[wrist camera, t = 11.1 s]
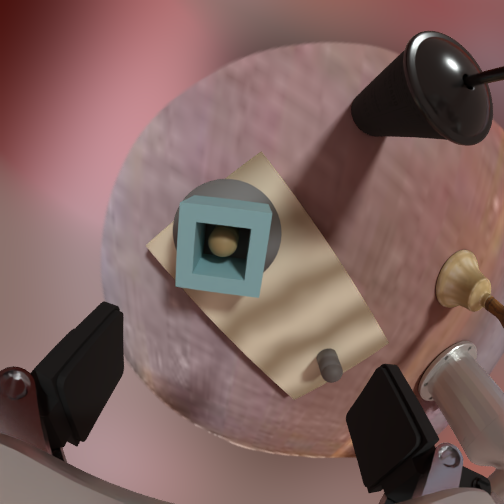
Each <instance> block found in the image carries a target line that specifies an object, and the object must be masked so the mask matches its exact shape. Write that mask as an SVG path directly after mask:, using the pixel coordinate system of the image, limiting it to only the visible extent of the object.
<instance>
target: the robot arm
mask: <svg viewBox="0 0 504 504" xmlns="http://www.w3.org/2000/svg"><path fill="white" fill-rule="evenodd" d="M476 357H477V349H476V347H475V346H474V344H473V343H471V342H469V341H462V342H459V343H456V344H454V345H452V346H451V347H449V348H448V349H446V350H445V351H444V352H442V353H441V354H440V355H439V356H438V357H437V358H436V359H435V360H434V361H433V362H432V363H431V364H430V366H429V367H428V368H427V370H426V371H425V373H424V374H423V376H422V378H421V380H420V383H419V388H418V391H419V394H420V396H421V397H422V399H424V400H426V401H435V402H436V404H437V406H438V407H439V409H440V410H441V412H442V414H443V415H444V417H445V419H446V420H447V422H448V424H449V425H450V427H451V429H452V430H453V432H454V434H455V435H456V437H457V439H458V441H459V442H460V444H461V446H462V448H463V450H464V451H465V453H466V455H467V457H468V458H469V460H470V461H471V462H472V463H474V464H476V465H480V466H493V467H495V468H496V470H495V471H494V472H493V473H492V474H491V475H490V476H489V477H488V478H486V477H484V476H482V475H480V474H478V473H476V472H474V471H472V470H470V469H468V468H466V467H464V466H463V456H462V454H461V452H460V450H459V449H458V448H457V447H456V446H454V445H452V444H450V443H441V444H439V445H438V446H437V447H436V448H435V446H434V445H435V444H436V443H437V442H438V441H439V438H438V436H437V434H436V432H435V430H434V428H433V426H432V425H431V423H430V421H429V419H428V417H427V415H426V414H425V412H424V410H423V408H422V407H421V405H420V403H419V401H418V400H417V398H416V396H415V394H414V393H413V391H412V389H411V387H410V386H409V384H408V382H407V381H406V379H405V377H404V376H403V374H402V372H401V371H400V369H399V367H398V366H397V365H391V364H382V365H381V366H380V367H378V368H377V369H376V370H375V372H374V374H373V375H372V377H371V378H370V380H369V382H368V383H367V385H366V386H365V388H364V389H363V391H362V392H361V394H360V395H359V397H358V398H357V400H356V401H355V403H354V404H353V406H352V407H351V408H350V410H349V411H348V413H347V415H346V422H347V425H348V429H349V432H350V436H351V439H352V443H353V446H354V450H355V454H356V457H357V460H358V464H359V468H360V472H361V476H362V479H363V483H364V485H365V487H367V489H368V492H369V493H372V492H378V491H381V490H382V489H384V492H385V493H384V494H383V496H382V498H381V500H380V502H379V504H504V393H503V391H502V390H501V389H500V388H499V387H498V385H497V384H496V383H495V382H494V381H493V379H492V378H491V377H490V376H489V375H488V374H487V372H486V371H485V370H484V369H483V368H482V367H481V366H480V365H479V363H478V362H477V361H476ZM123 371H124V357H123V313H122V312H120V309H119V307H118V306H116V305H113V304H110V303H107V302H102V303H101V304H100V305H99V306H98V307H97V308H96V309H95V310H93V311H92V313H90V314H89V315H88V316H87V317H86V318H85V319H84V320H83V321H82V322H81V323H80V324H79V325H78V326H77V327H76V328H75V329H73V330H71V331H70V332H69V333H68V334H67V335H66V336H65V337H64V338H63V339H62V340H61V341H60V342H59V343H58V344H57V345H56V346H55V347H54V348H53V349H52V350H51V351H50V352H49V353H48V355H47V356H46V357H45V358H44V359H43V360H42V361H41V362H40V363H39V364H38V365H37V366H36V368H34V370H33V371H32V372H31V373H29V372H28V371H27V370H25V369H23V368H20V367H14V366H13V367H7V368H5V369H3V370H1V371H0V504H173V503H169V502H166V501H162V500H158V499H155V498H151V497H148V496H145V495H142V494H139V493H136V492H133V491H130V490H128V489H125V488H122V487H120V486H117V485H114V484H111V483H109V482H107V481H104V480H102V479H100V478H97V477H95V476H93V475H91V474H88V473H86V472H84V471H82V470H80V469H78V468H76V467H74V466H72V465H70V464H68V463H67V461H66V458H65V455H64V452H63V448H62V447H64V446H65V444H66V442H69V443H71V444H73V445H75V446H78V444H79V442H80V441H82V442H84V441H85V440H86V439H87V437H88V435H89V433H90V431H91V430H92V428H93V426H94V424H95V422H96V421H97V419H98V417H99V415H100V413H101V411H102V410H103V408H104V406H105V405H106V403H107V401H108V399H109V398H110V396H111V394H112V392H113V391H114V389H115V387H116V385H117V384H118V382H119V380H120V378H121V377H122V374H123Z"/></svg>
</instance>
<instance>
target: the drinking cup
mask: <svg viewBox="0 0 504 504" xmlns="http://www.w3.org/2000/svg"><path fill="white" fill-rule="evenodd" d="M501 80H504V66H503V67H499V68H495V69H491V70H487V71H484V72H482V70H481V69H480V67H479V65H478V64H477V62H476V61H475V59H474V58H473V57H472V56H471V54H470V53H469V52H468V51H467V50H466V49H465V48H464V47H463V46H462V45H460V44H459V43H458V42H457V41H455V40H454V39H452V38H451V37H449V36H447V35H445V34H442V33H439V32H435V31H424V32H420V33H418V34H416V35H415V36H413V37H412V38H411V39H410V40H409V42H408V43H407V45H406V48H405V50H404V51H403V52H402V53H401V54H400V55H399V56H398V57H397V58H396V59H395V60H394V61H393V62H392V63H391V64H390V65H388V66H387V67H386V68H385V69H384V70H383V71H382V72H381V73H380V74H379V75H378V76H377V77H376V78H375V79H374V80H373V81H372V82H371V83H370V84H369V85H368V86H367V87H366V88H365V89H364V90H363V91H362V92H361V93H360V94H359V95H358V96H357V97H356V98H355V99H354V101H353V103H352V108H351V112H352V117H353V120H354V122H355V123H356V125H357V126H358V127H359V129H360V130H362V131H363V132H364V133H366V134H368V135H371V136H395V137H419V138H434V139H446V140H449V141H451V142H453V143H455V144H459V145H475V144H477V143H479V142H481V141H482V140H483V139H484V138H485V137H486V136H487V134H488V132H489V130H490V128H491V124H492V119H493V104H492V97H491V93H490V89H489V86H488V83H491V82H496V81H501Z"/></svg>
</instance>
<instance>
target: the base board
mask: <svg viewBox="0 0 504 504" xmlns="http://www.w3.org/2000/svg"><path fill="white" fill-rule="evenodd" d="M194 195H198V196H207V197H216V198H225V199H233V200H241V201H249V202H256V203H264V204H269V207H270V209H271V211H272V219H271V226H270V232H269V239H268V245H267V252H266V258H265V265H264V271H263V277H262V283H261V289H260V296H259V298H256V297H247V296H239V295H232V294H224V293H217V292H209V291H202V290H195V289H189V288H182V287H181V288H182V289H183V290H184V291H185V292H186V293H187V294H188V295H189V297H190V298H191V299H192V300H193V301H194V302H195V303H196V304H197V305H198V306H199V307H200V308H201V310H202V311H203V312H204V313H205V314H206V315H207V316H208V317H209V318H210V319H211V320H212V321H213V322H214V323H215V324H216V325H217V326H218V328H219V329H220V330H221V331H222V332H223V333H224V334H225V335H226V336H227V337H228V338H229V339H230V340H231V341H232V342H233V343H234V344H235V345H236V346H237V347H238V348H239V349H240V350H241V351H242V352H243V353H244V354H245V355H246V356H247V357H248V358H249V359H250V360H251V361H253V362H254V363H255V364H256V365H257V366H258V367H259V368H260V369H261V370H262V371H263V372H264V373H265V374H266V375H267V376H268V377H269V378H271V379H272V380H273V381H274V382H275V383H276V384H277V385H278V386H279V387H280V388H281V389H283V390H284V391H285V392H286V393H287V394H288V395H289V396H290V397H292V398H293V399H294V400H295V399H297V398H299V397H301V396H303V395H305V394H306V393H308V392H310V391H312V390H314V389H316V388H318V387H319V386H321V385H323V384H325V383H327V382H330V383H332V382H336V381H338V380H339V379H340V378H341V376H342V374H343V373H344V372H345V371H347V370H349V369H350V368H352V367H354V366H355V365H357V364H358V363H360V362H361V361H363V360H365V359H366V358H368V357H369V356H371V355H372V354H374V353H375V352H377V351H378V350H379V349H381V348H382V347H384V346H385V345H387V344H388V343H389V342H388V341H387V339H386V337H385V335H384V333H383V332H382V330H381V328H380V326H379V325H378V323H377V321H376V320H375V318H374V316H373V314H372V313H371V311H370V309H369V308H368V306H367V304H366V303H365V301H364V299H363V298H362V296H361V294H360V293H359V291H358V289H357V288H356V286H355V285H354V283H353V281H352V280H351V278H350V277H349V275H348V273H347V272H346V270H345V269H344V267H343V266H342V264H341V263H340V261H339V259H338V258H337V256H336V255H335V253H334V252H333V250H332V249H331V247H330V246H329V244H328V243H327V241H326V240H325V238H324V237H323V235H322V234H321V232H320V231H319V230H318V228H317V227H316V225H315V224H314V222H313V221H312V219H311V218H310V217H309V215H308V214H307V212H306V211H305V209H304V208H303V207H302V205H301V204H300V202H299V201H298V200H297V198H296V197H295V195H294V194H293V193H292V191H291V190H290V189H289V187H288V186H287V185H286V183H285V182H284V181H283V179H282V178H281V177H280V175H279V174H278V173H277V171H276V170H275V169H274V167H273V166H272V165H271V163H270V162H269V161H268V159H267V158H266V157H265V156H264V154H263V153H262V152H260V153H258V154H257V155H256V156H254V157H253V158H252V159H250V160H249V161H248V162H246V163H245V164H244V165H242V166H241V167H240V168H238V169H237V170H236V171H234V172H233V173H232V174H231V175H229V176H228V177H227V178H225V179H218V180H214V181H210V182H207V183H204V184H202V185H200V186H199V187H197V188H195V189H194V190H193V191H191V192H190V193H189V194H188V195H187V196H186V197H185V199H184V200H186V199H188V198H190V197H192V196H194ZM184 200H183V201H184ZM179 209H180V206H179V208H178V210H177V212H176V215H175V218H174V221H173V222H172V223H171V224H169V225H168V226H167V227H166V228H165V229H164V230H163V231H161V232H160V233H159V234H158V235H157V236H156V237H155V238H154V239H152V240H151V241H150V242H149V243H148V244H147V245H146V247H147V248H148V249H149V250H150V252H151V253H152V254H153V255H154V256H155V258H156V259H157V260H158V261H159V262H160V263H161V265H162V266H163V267H164V268H165V269H166V270H167V272H168V273H169V274H170V275H171V276H172V277H173V279H174V280H175V281H176V257H177V238H178V223H179ZM249 234H250V229H248V228H241V227H233V226H225V225H217V224H209V223H206V229H205V240H204V251H203V254H211V255H216V256H219V257H234V258H242V259H246V256H247V248H248V241H249Z"/></svg>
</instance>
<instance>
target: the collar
mask: <svg viewBox="0 0 504 504" xmlns="http://www.w3.org/2000/svg"><path fill="white" fill-rule="evenodd" d="M271 219H272V211H271V209H270V207H269V204H264V203H256V202H249V201H241V200H233V199H225V198H216V197H207V196H198V195H194V196H192V197H190V198H188V199H186V200H184V201H182V202H180V209H179V223H178V238H177V257H176V286H175V287H182V288H189V289H195V290H202V291H209V292H217V293H224V294H232V295H239V296H247V297H256V298H259V296H260V289H261V283H262V277H263V271H264V265H265V258H266V252H267V245H268V239H269V232H270V226H271ZM206 223H209V224H217V225H225V226H233V227H241V228H248V229H250V234H249V241H248V248H247V256H246V259H242V258H234V257H219V256H216V255H211V254H203V251H204V240H205V229H206Z"/></svg>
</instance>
